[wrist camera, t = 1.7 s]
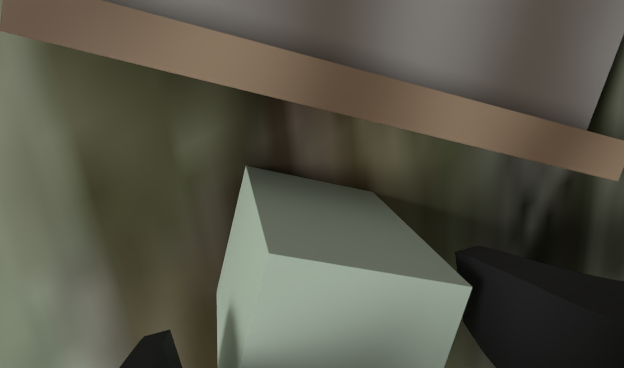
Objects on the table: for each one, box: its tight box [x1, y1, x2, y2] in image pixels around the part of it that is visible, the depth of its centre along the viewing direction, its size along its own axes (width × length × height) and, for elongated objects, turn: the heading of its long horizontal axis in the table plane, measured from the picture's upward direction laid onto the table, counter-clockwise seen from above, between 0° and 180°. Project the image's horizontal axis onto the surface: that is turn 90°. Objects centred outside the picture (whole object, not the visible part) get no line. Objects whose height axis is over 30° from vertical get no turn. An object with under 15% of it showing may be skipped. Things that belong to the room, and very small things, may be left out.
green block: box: [217, 166, 472, 368], centre depth 14 cm, size 4×5×7 cm
